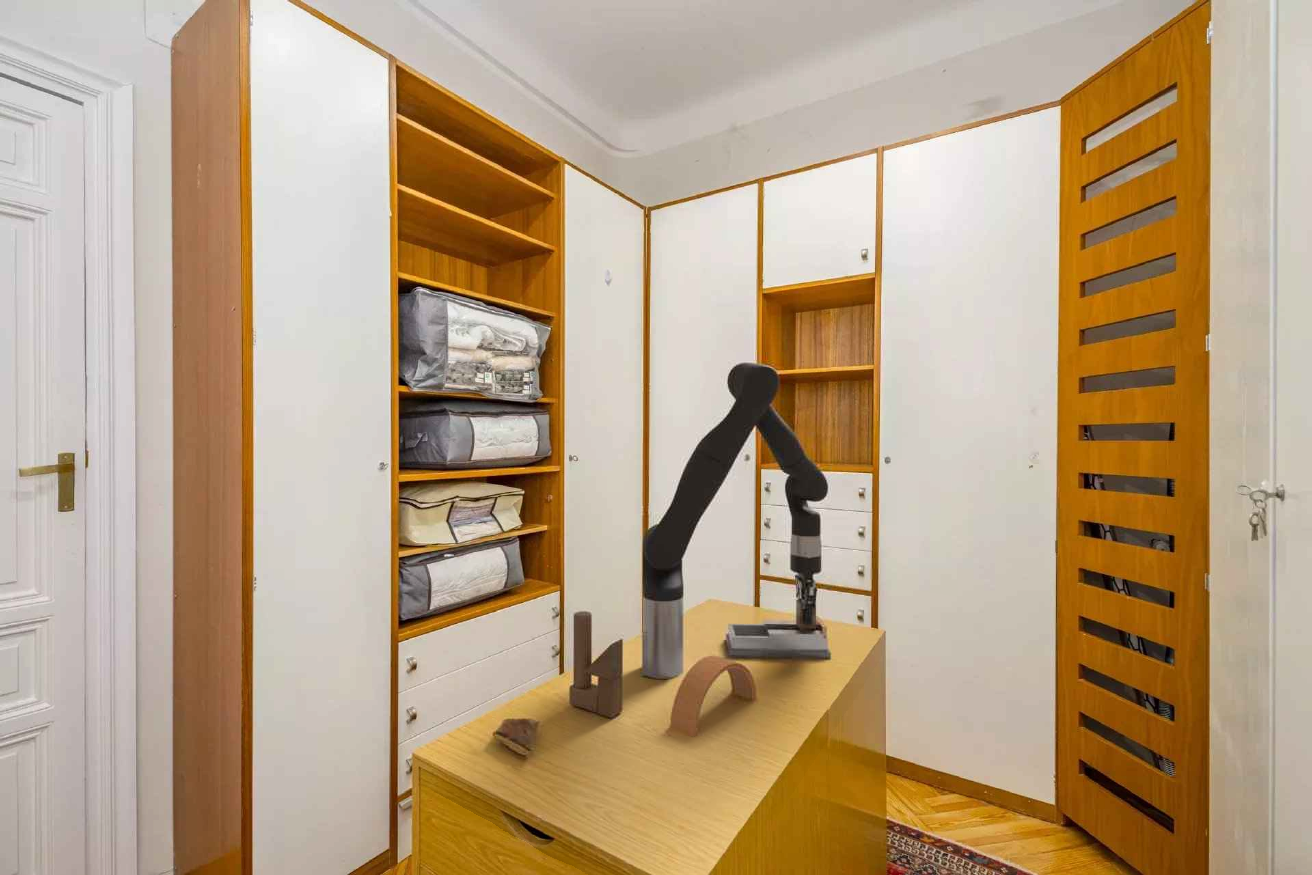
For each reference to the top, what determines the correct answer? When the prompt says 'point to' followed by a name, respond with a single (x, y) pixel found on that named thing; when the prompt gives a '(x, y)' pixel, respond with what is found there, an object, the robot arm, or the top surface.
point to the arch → (699, 684)
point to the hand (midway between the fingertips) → (805, 620)
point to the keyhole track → (777, 640)
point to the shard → (517, 734)
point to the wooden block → (595, 671)
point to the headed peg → (800, 617)
